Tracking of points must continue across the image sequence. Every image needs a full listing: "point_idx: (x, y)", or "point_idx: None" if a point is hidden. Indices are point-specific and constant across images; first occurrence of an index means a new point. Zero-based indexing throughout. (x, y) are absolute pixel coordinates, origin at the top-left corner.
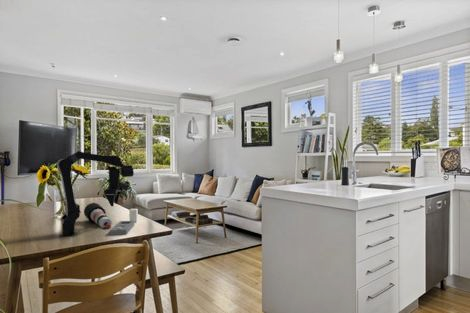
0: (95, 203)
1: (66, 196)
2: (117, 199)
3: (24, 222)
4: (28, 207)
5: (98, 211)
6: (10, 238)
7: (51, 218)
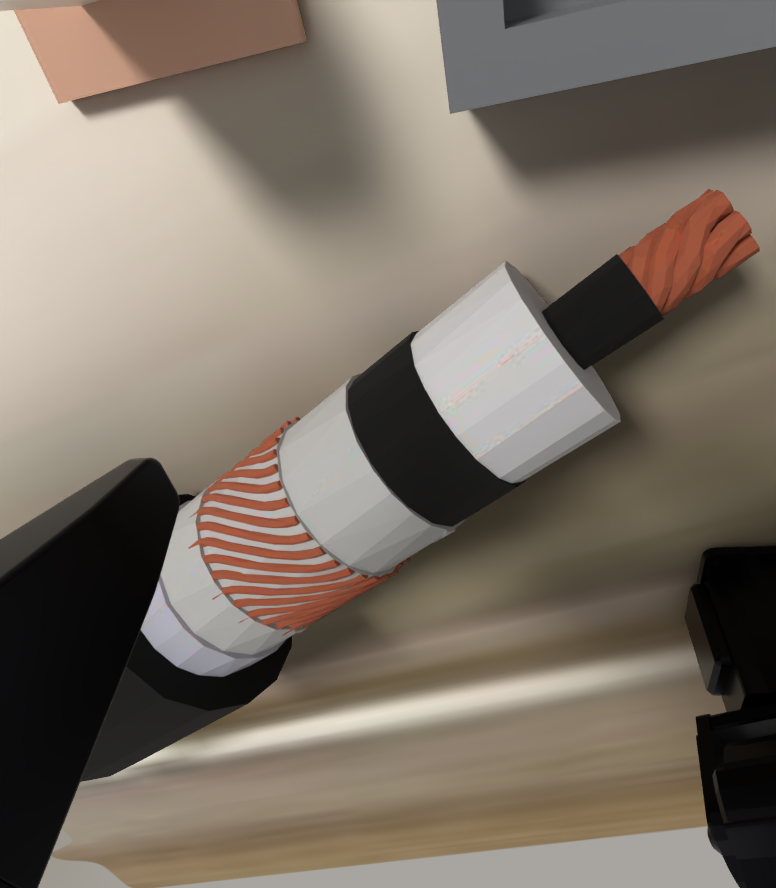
0: None
1: None
2: (59, 570)
3: (327, 828)
4: None
5: (256, 619)
6: None
7: (199, 774)
